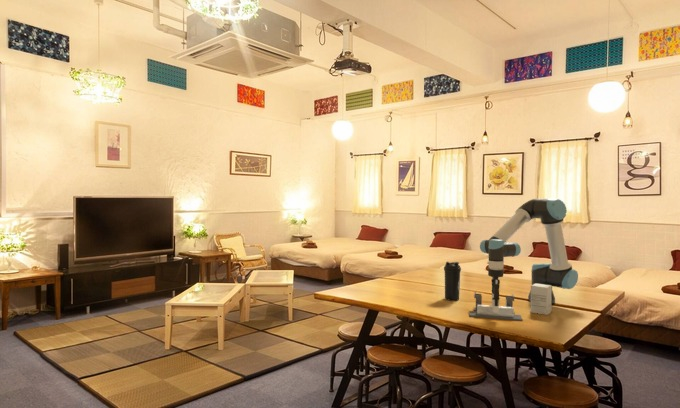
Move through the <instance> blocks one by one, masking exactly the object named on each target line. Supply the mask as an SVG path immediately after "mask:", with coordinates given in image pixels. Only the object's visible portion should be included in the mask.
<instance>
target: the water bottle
mask: <svg viewBox="0 0 680 408" xmlns="http://www.w3.org/2000/svg"><path fill="white" fill-rule="evenodd" d="M443 270H444V271H443V272H444V300H446V301H453V302H454V301H455V302H456V301H459V300H460V290H461V289H460V286H461V271H462V267H461V266H460V262H459V261H452V262H450V261H446V262H445V265H444V267H443Z"/></svg>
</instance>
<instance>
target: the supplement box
mask: <svg viewBox="0 0 680 408" xmlns="http://www.w3.org/2000/svg"><path fill="white" fill-rule="evenodd" d="M530 290H531V301H530V309H529V310H530V313H532V314H537V313H538V314H539V315H545V316H548V315H550V314H551V313H552V303H551V293H552V290H553V286H551V285H544V284H537V283H535V284H533V285H532V284H531V285H530Z"/></svg>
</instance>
